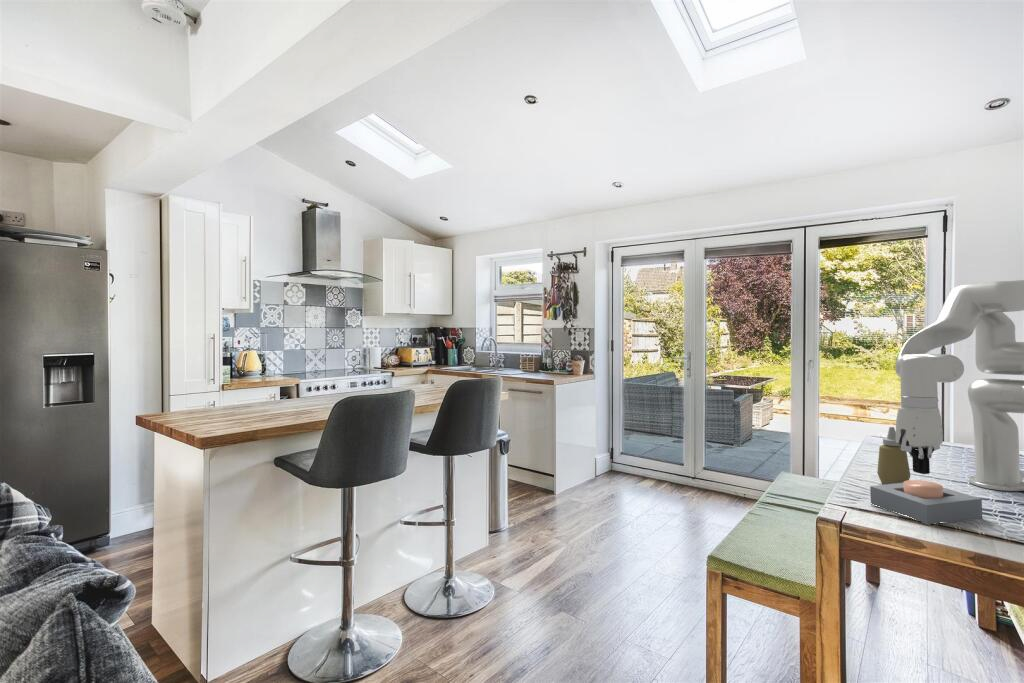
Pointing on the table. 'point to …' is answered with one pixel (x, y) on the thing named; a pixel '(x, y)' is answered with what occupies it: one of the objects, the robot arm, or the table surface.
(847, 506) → the table surface
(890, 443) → the squeeze bottle
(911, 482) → the button
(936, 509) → the button base
